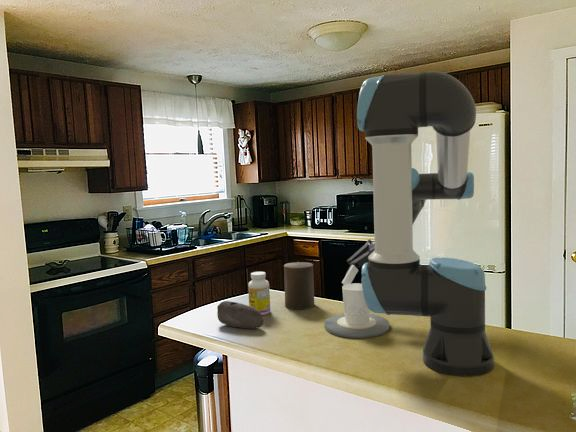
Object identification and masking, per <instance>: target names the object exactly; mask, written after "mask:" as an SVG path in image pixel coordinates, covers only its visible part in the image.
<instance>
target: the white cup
mask: <svg viewBox="0 0 576 432" xmlns="http://www.w3.org/2000/svg"><path fill="white" fill-rule="evenodd" d="M341 287H342V288H341V289H342V302H343V304H342V305H343V312H344V313H345V321H346V322H347V323H348V324H352V325H363V324H367V323H368V322H369V314H371V311H370V310H369V309H368V307H367V305H366V303H365V299H364V295H363V289H362V282H361V283H360V282H359V283H358V282H357V283H356V282H355V283H353V282H351V284H346V285H342V286H341Z"/></svg>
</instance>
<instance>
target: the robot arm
mask: <svg viewBox="0 0 576 432" xmlns="http://www.w3.org/2000/svg"><path fill="white" fill-rule="evenodd" d="M356 118H357V122H356V123H357V128H358V130H359V131H360V132H364V137H365V138H364V139H365V140H366V141H367V142H368V143H369V144H370V146H371V149H372V153H371V155H372V187H373V190H372V191H373V192H372V195H373V225H374V226H373V228H374V231H373V232H374V241H373V240H371V238H370V239H368V240H366V242H365V244H364V245H362V246H361V247H360V248H359V249H358V250H357V251H355V253H353V254H352V255H351V256H350V257H349V258H348V259H347V260H346V262H347V264H349V267H348V269H347V271H346V273H345V276H344V278H343V279H342V281H341V284H343V285H346V284H352V283H353V281H354V279H355V277H356V275H357V274H358V272H359V269H358V268H361V284H362V289H363V295H364V299H365V303H366V305H367V307H368V309H369V310H370V312H372V313H375V314H384V315H386V316H390V315H394V316H395V315H396V316H413V317H414V316H415V317H429V318H430V321H429V322H430V327H429V330H428V334H427V336H426V339H425V342H424V346H423V349H422V361H423V363H424V365H426V366H427V368H430V369H432V370H433V371H436V372H438V373H442V374H446V375H449V376H450V375H452V376H458V377H459V376H460V377H474V376H475V377H476V376H481V375H484V374H485V375H486V374H488V373H489V372H491V371H493V369H494V366H495V362H494V360H495V359H494V357H495V356H494V353H493V349H492V347H491V345H490V341H489V338H488V335H487V333H486V290H487V286H486V274H485V271H484V269H483V268H482V267H481V266H480V265H478V264H476V263H475V262H471V261H468V260H465V259H464V260H463V259H458V258H453V257H433V258H431V259H430V261H429V262H428V264H421V257H420V255H419V254H418V253H417V252H416V251H415V250H414V241H413V239H414V238H413V235H414V234H413V227H414V224H415V222H416V220H417V218H418V216H419V215H420V213H421V211H422V210H423V208H424V206H425V203H426V201H427V200H458V201H459V200H465V199H467V200H468V199H472V198H473V197H474V194H475V193H474V192H475V190H474V189H475V177H474V174H473V172H470V171H468V167H469V153H470V152H469V151H470V137H471V134H470V133H471V130H472V129H473V127H474V126H475V124H476V120H477V107H476V103H475V100H474V97H473V96H472V94H471V92H470V90H468V88H467V87H466V86H465V85H464V83H462V82H461V81H460V80H459V79H458V78H456V77H454V76H452V75H451V74H448V73H446V72H443V71H437V70H430V71H427V70H426V71H424V72H423V71H422V72H411V73H398V74H397V73H396V74H386V75H385V74H382V75H380V76H374V77H369V78H367V79H365V80H364V81H363V83H362V85H361V86H360V90H359V95H358V101H357V109H356ZM426 127H427V128H428V127H432V129H433V131H435V135H436V137H435V138H436V140H435V141H436V161H437V163H436V164H437V165H436V166H437V173H436V172H432V173H431V172H430V173H419V171H418V170H417V169H416V168H414V167H412V164H413V163H412V144H413V142H414V141H415V140H416V139H417V138H418V137H419V128H426ZM343 285H342V286H343Z"/></svg>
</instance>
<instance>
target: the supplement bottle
mask: <svg viewBox="0 0 576 432" xmlns="http://www.w3.org/2000/svg"><path fill="white" fill-rule="evenodd" d="M266 277H267V274H266V272H265V271H253V272H250V278H251V280H250V281H249V282H248V285H247V286H248V287H247V289H248V306H250V307H253V308H255V309H256V310H258V311H259V312H260V313H261V315H262V316H266V315H268V314H270V312H271V298H270V296H271V295H270V292H271V291H270V283H269V281H268V280H267V279H266Z"/></svg>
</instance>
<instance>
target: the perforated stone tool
mask: <svg viewBox="0 0 576 432" xmlns="http://www.w3.org/2000/svg"><path fill="white" fill-rule="evenodd" d="M216 308H217V312H216V313H217V314H216V315H217V320H218V321H219V322H220V323H221V324H224V325H226V326H227V327H228V326H229V327H232V328H241V329H248V330H249V329H250V330H252V329H254V330H255V329H259V328H261V327H262V326H263V324H264V317H263V315H261V313H260V312H259V311H258V310H256V309H255V308H253V307H250V306H249V305H247V304H244V303H240V302H235V301H230V300H229V301H227V300H225V301H221V302H220V303H219V304H218V305H217V307H216Z"/></svg>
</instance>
